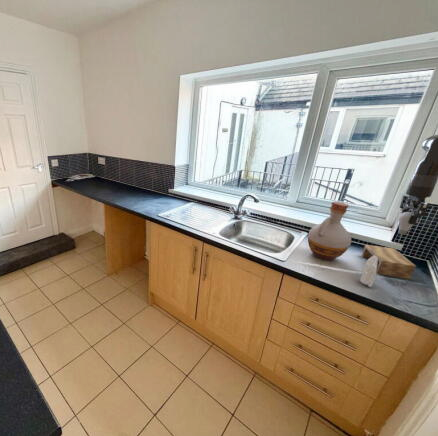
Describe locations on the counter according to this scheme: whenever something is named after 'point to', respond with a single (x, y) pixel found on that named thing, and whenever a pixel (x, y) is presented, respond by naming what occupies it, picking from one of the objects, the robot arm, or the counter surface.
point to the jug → (330, 235)
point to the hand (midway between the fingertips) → (406, 221)
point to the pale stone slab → (369, 271)
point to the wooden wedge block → (390, 261)
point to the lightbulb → (404, 222)
